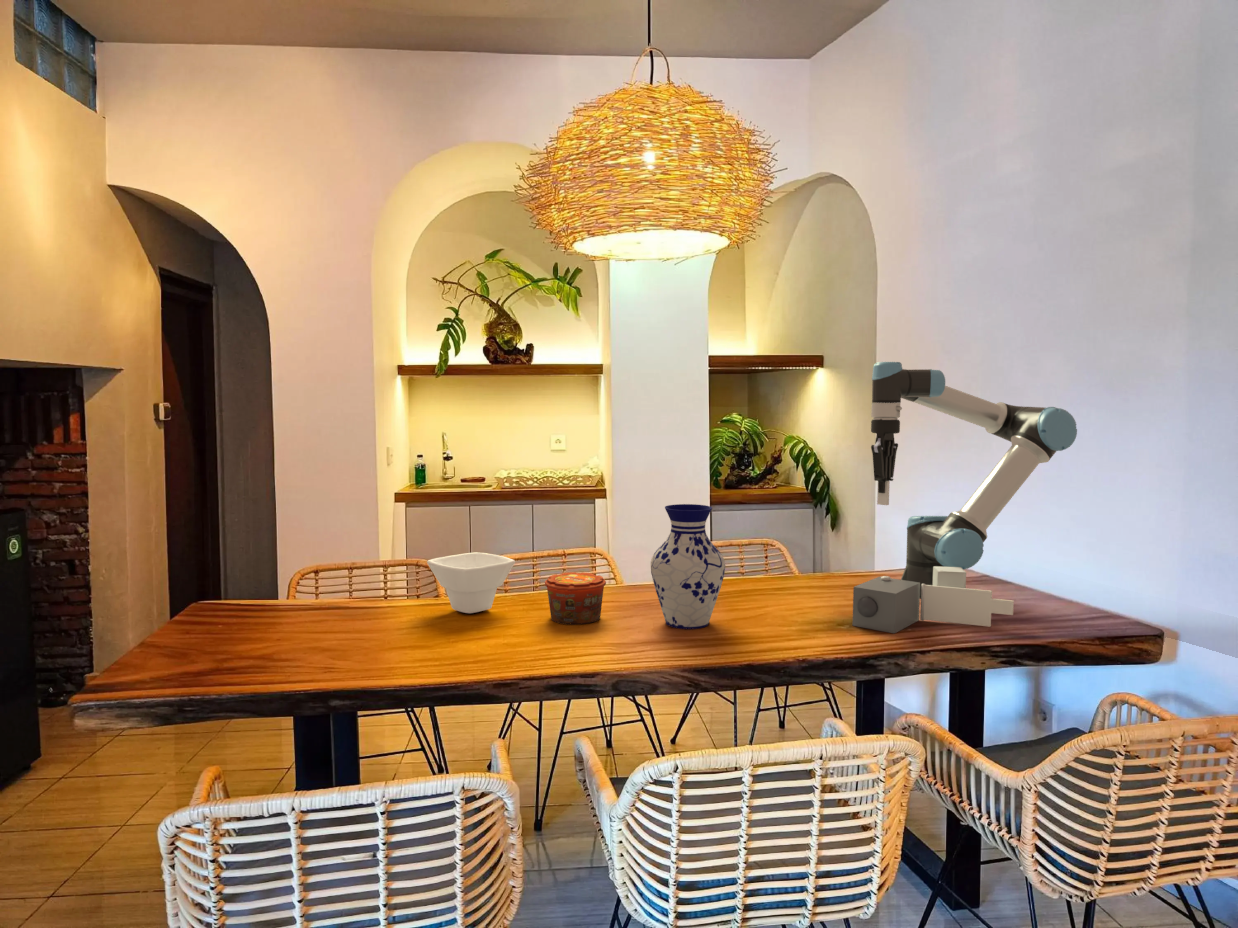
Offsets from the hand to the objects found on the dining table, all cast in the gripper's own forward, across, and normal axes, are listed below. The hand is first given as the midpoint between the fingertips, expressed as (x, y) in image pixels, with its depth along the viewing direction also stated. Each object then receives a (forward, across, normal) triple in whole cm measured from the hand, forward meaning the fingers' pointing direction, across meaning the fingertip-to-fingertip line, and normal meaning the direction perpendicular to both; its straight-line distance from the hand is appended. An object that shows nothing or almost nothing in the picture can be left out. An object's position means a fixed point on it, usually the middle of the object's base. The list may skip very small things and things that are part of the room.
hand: (883, 504), depth 236 cm
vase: (+29, -50, +30) cm, 65 cm away
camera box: (+28, -16, -8) cm, 34 cm away
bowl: (+29, -78, +81) cm, 116 cm away
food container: (+29, -65, +55) cm, 90 cm away
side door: (+28, -5, -25) cm, 38 cm away
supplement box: (+29, +2, -18) cm, 34 cm away
